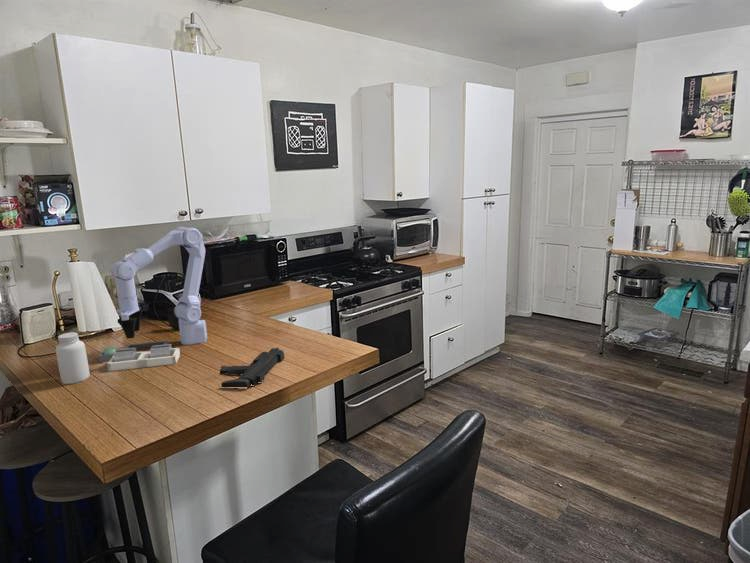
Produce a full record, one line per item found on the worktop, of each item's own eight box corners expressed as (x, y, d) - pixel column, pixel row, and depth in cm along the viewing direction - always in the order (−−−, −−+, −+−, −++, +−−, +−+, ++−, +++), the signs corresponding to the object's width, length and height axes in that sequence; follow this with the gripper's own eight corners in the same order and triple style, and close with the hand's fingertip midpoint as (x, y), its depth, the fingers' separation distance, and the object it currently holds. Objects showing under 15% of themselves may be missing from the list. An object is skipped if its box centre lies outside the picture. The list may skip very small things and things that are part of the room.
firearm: (237, 354, 177) (289, 353, 173) (194, 391, 148) (256, 390, 144) (235, 346, 176) (288, 344, 172) (192, 381, 147) (254, 380, 143)
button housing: (123, 356, 175) (122, 348, 174) (118, 362, 169) (117, 354, 169) (105, 357, 174) (103, 350, 173) (99, 364, 168) (98, 356, 167)
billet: (118, 363, 165) (116, 348, 164) (138, 361, 167) (135, 346, 166) (115, 367, 162) (113, 352, 161) (135, 365, 163) (132, 350, 162)
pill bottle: (60, 386, 151) (51, 340, 147) (62, 377, 158) (54, 333, 154) (89, 381, 154) (81, 336, 151) (90, 372, 161) (83, 329, 158)
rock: (202, 326, 206) (200, 303, 204) (199, 329, 203) (197, 306, 200) (171, 327, 206) (169, 305, 204) (168, 330, 202) (165, 307, 200)
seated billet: (154, 359, 168) (152, 345, 167) (173, 357, 169) (171, 343, 168) (152, 363, 164) (149, 349, 163) (171, 361, 165) (169, 347, 164)
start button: (119, 354, 174) (117, 346, 173) (115, 358, 170) (114, 350, 169) (106, 355, 173) (105, 347, 172) (103, 359, 169) (102, 351, 168)
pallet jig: (180, 357, 172) (179, 347, 171) (176, 366, 164) (175, 356, 163) (115, 363, 168) (114, 354, 167) (108, 374, 159) (106, 364, 158)
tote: (168, 346, 183) (167, 340, 182) (162, 358, 171) (161, 351, 171) (128, 351, 180) (127, 344, 179) (119, 363, 168) (118, 356, 168)
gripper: (120, 292, 172) (126, 329, 175) (108, 303, 158) (115, 342, 161) (141, 290, 174) (147, 327, 177) (132, 300, 160) (138, 340, 163)
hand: (133, 334), depth 169 cm, fingers open, 7 cm apart
